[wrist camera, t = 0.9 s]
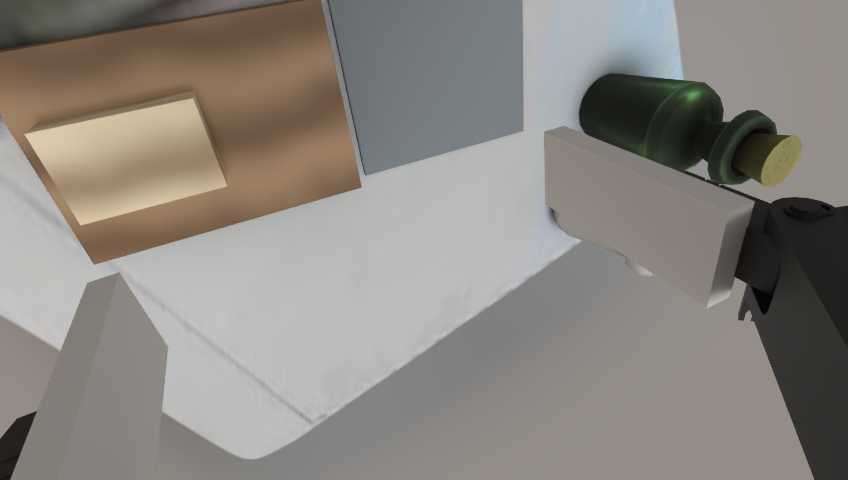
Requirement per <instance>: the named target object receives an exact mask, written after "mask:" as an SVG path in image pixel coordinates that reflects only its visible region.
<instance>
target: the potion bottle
mask: <svg viewBox="0 0 848 480" xmlns="http://www.w3.org/2000/svg"><path fill="white" fill-rule="evenodd" d="M723 111H724V109H723V106H722V102H721V99H720V97H719V96H718V95H717V93H716V92H715V91H714V90H713V89H712V88H711V87H710V86H708V85H707V84H706V83H704V82H693V81H684V80H674V79H664V78H654V77H644V76H634V75H624V74H609V75H607V76H605V77H603V78H600V79H599V80H598V81H597V82H596V83H595V84H594V85H593V86H592V87H591V88H590V89H589V91H588V93H587V95H586V96H585V98H584V100H583V104H582V108H581V112H580V114H581V125H582V127H583V129H584V131H585V133H586V134H587V135H589V136H591V137H593V138H596V139H598V140H601V141H603V142H606V143H608V144H611V145H613V146H616V147H618V148H621V149H623V150H626V151H628V152H631V153H634V154H636V155H639V156H641V157H644V158H646V159H649V160H651V161H654V162H656V163H659V164H661V165H664V166H667V167H669V168H672V169H677V170H682V171H687V170H688V169H690V168H692V167H694V166H695V165H696V164H698V162H700V161H701V160H702V159H704V160H705V161H707V162H708V173H709V176H710V179H711V180H713V181H714V182H716V183H719V184H730V185H733V184H742V183H744V182H745V181H747V180H749V179H751V178H753V179H754V180H756V181H758V182H759V183H761V184H763V185H764V186H766V187H773V186H775V185H777V184H779V183H780V182H782V181H783V180H784V179H785V178H786V177H787V176H788V175H789V174H790V173H791V171H792V170H793V168H794V167H795V165H796V163H797V161H798V159H799V157H800V154H801V149H802V144H801V140H800V139H799V138H798V137H797V136H788V135H777V131H776V125H775V123H774V122H773V121H772V120H771V119H769V118H768V117H767V116H765V115H764V114H762V113H761V112H759V111H758V110H747V111H745V112H743V113H741V114H739V115H738V116H736V117H735V118H734V119H733V120H732V121H730V122H722V120H723Z"/></svg>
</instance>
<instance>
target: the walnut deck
mask: <svg viewBox="0 0 848 480" xmlns="http://www.w3.org/2000/svg"><path fill="white" fill-rule="evenodd" d="M193 90H194V92H195V95H196V97H197V100H198V103H199V105H200V108H201V110H202V113H203V116H204V118H205V121H206V123H207V126H208V128H209V131H210V134H211V136H212V139H213V141H214V144H215V146H216V149H217V152H218V154H219V157H220V159H221V162H222V164H223V167H224V170H225V172H226V177H227V187H223V188H219V189H216V190H212V191H208V192H204V193H201V194H197V195H193V196H189V197H186V198H182V199H178V200H174V201H171V202H167V203H163V204H159V205H156V206H152V207H148V208H144V209H141V210H137V211H133V212H129V213H126V214H122V215H118V216H114V217H111V218H107V219H103V220H99V221H96V222H92V223H88V224H84V225H80V224H79V222H78V221H77V219H76V217H75V216H74V214H73V212H72V211H71V209H70V208H69V206H68V204H67V203H66V201H65V199H64V198H63V196H62V195H61V193H60V191H59V190H58V188H57V186H56V185H55V183H54V182H53V180H52V178H51V177H50V175H49V173H48V172H47V170H46V169H45V167H44V165H43V164H42V162H41V160H40V159H39V157H38V156H37V154H36V152H35V151H34V149H33V147H32V146H31V144H30V143H29V141H28V139H27V138H26V136H25V133H26V132H27V131H28V130H30V129H31V128H32V127H33V126H34V125H35V124H37V123H39V122H44V121H49V120H53V119H58V118H63V117H68V116H73V115H77V114H82V113H87V112H92V111H97V110H101V109H106V108H111V107H116V106H121V105H125V104H130V103H135V102H140V101H145V100H149V99H154V98H159V97H164V96H169V95H173V94H178V93H183V92H188V91H193ZM0 116H1V118H2V119H3V121H4V122H5V124H6V125H7V127H8V129H9V130H10V132H11V133H12V135H13V137H14V138H15V140H16V141H17V143H18V145H19V146H20V148H21V149H22V151H23V152H24V154H25V156H26V157H27V159H28V160H29V162H30V164H31V165H32V167H33V168H34V170H35V172H36V173H37V175H38V176H39V178H40V179H41V181H42V183H43V184H44V186H45V187H46V189H47V191H48V192H49V194H50V195H51V197H52V198H53V200H54V202H55V203H56V205H57V206H58V208H59V210H60V211H61V213H62V214H63V216H64V218H65V219H66V221H67V222H68V224H69V225H70V227H71V229H72V230H73V232H74V233H75V235H76V237H77V238H78V240H79V241H80V243H81V245H82V246H83V248H84V249H85V251H86V252H87V254H88V256H89V257H90V259H91V260H92V262H93V264H94V265H95V264H98V263H101V262H105V261H108V260H112V259H115V258H119V257H122V256H126V255H129V254H133V253H136V252H140V251H143V250H146V249H150V248H153V247H157V246H160V245H164V244H167V243H171V242H174V241H178V240H181V239H185V238H188V237H191V236H195V235H198V234H202V233H205V232H209V231H212V230H216V229H219V228H223V227H226V226H230V225H233V224H236V223H240V222H243V221H247V220H250V219H254V218H257V217H261V216H264V215H268V214H271V213H275V212H278V211H281V210H285V209H288V208H292V207H295V206H299V205H302V204H306V203H309V202H313V201H316V200H320V199H323V198H326V197H330V196H333V195H337V194H340V193H344V192H347V191H351V190H354V189H358V188H361V183H360V178H359V174H358V169H357V165H356V160H355V155H354V151H353V146H352V142H351V137H350V133H349V128H348V123H347V119H346V114H345V110H344V105H343V101H342V96H341V92H340V87H339V82H338V78H337V73H336V69H335V64H334V60H333V55H332V50H331V46H330V41H329V37H328V32H327V28H326V23H325V19H324V14H323V9H322V5H321V0H292V1H286V2H280V3H274V4H268V5H262V6H256V7H250V8H244V9H238V10H232V11H226V12H220V13H214V14H208V15H202V16H196V17H190V18H185V19H179V20H173V21H167V22H161V23H155V24H149V25H143V26H137V27H131V28H125V29H119V30H113V31H107V32H101V33H95V34H89V35H83V36H77V37H71V38H65V39H59V40H53V41H47V42H42V43H36V44H30V45H24V46H18V47H12V48H6V49H0Z"/></svg>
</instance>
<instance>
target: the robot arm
mask: <svg viewBox="0 0 848 480" xmlns="http://www.w3.org/2000/svg"><path fill="white" fill-rule="evenodd" d="M544 151H545V202H546V205H547V206H549V207H550V208H552V209H553V210H555V211H556V212H558V213H560V214H561V215H563V216H564V217H566V218H567V219H569V220H570V221H572V222H574V223H575V224H577V225H578V226H580V227H581V228H583V229H584V230H586V231H587V232H589V233H591V234H592V235H594V236H595V237H597V238H598V239H600V240H601V241H603V242H605V243H606V244H608V245H609V246H611V247H612V248H614V249H615V250H617V251H618V252H620V253H622V254H623V255H625V256H626V257H628V258H629V259H631V260H632V261H634V262H636V263H637V264H639V265H640V266H642V267H643V268H645V269H646V270H648V271H649V272H651V273H653V274H654V275H656V276H657V277H659V278H660V279H662V280H663V281H665V282H667V283H668V284H670V285H671V286H673V287H674V288H676V289H678V290H679V291H680V292H682V293H684V294H685V295H687V296H688V297H690V298H691V299H693V300H694V301H696V302H697V303H699V304H701V305H702V306H704V307H705V308H708V307H710V306H712V305H714V304H716V303H718V302H720V301H722V300H724V299H727V298H728V297H729V296H730V293H731V290H732V286H733V282H734V278H735V277H736V278H738V279H740V280H742V281H744V282H745V283H747V285H746V289H745V292H744V296H743V299H742V303H741V307H740V310H739V314H738V320H744V317H745V314H746V312H748V311H749V310H750V312H751V314H752V318H751V321H754V322H755V325H756V327H757V330H758V333H759V335H760V338H761V341H762V343H763V346H764V348H765V351H766V354H767V356H768V359H769V361H770V364H771V367H772V369H773V372H774V375H775V377H776V380H777V383H778V385H779V388H780V390H781V393H782V395H783V398H784V401H785V403H786V406H787V409H788V411H789V414H790V417H791V419H792V422H793V425H794V427H795V430H796V432H797V435H798V438H799V440H800V443H801V446H802V448H803V451H804V453H805V456H806V458H807V461H808V464H809V467H810V469H811V472H812V474H813V477H814V480H848V206H842V207H836V208H835V207H833V206H832V205H829V204H827V203H824V202H822V201H818V200H814V199H809V198H798V197H791V198H781V199H779V200H775V201H773V202H772V203H771V204H770V203H768V202H765V201H763V200H760V199H757V198H755V197H752V196H749V195H747V194H744V193H742V192H739V191H737V190H734V189H731V188H729V187H726V186H724V185H721V186H719V183H716V182H713V181H711V180H705V178H703V177H701V176H698V175H695V174H693V173H690V172H688V171H682V170H677V169H672V168H669V167H667V166H664V165H661V164H659V163H656V162H654V161H651V160H649V159H646V158H644V157H641V156H639V155H636V154H634V153H631V152H628V151H626V150H623V149H621V148H618V147H616V146H613V145H611V144H608V143H606V142H603V141H601V140H598V139H596V138H593V137H590V136H588V135H585V134H583V133H580V132H578V131H575V130H573V129H570V128H568V127H565V126H561V127H558V128H555V129H552V130H549V131H546V132H544ZM167 353H168V346H167V344H166V343H165V341H164V340H163V338H162V337H161V335H160V334H159V332H158V331H157V329H156V328H155V326H154V325H153V323H152V321H151V320H150V318H149V317H148V315H147V314H146V312H145V311H144V309H143V308H142V306H141V305H140V303H139V302H138V300H137V299H136V297H135V296H134V294H133V293H132V291H131V289H130V288H129V286H128V285H127V283H126V282H125V280H124V279H123V277H122V276H121V274H120V273H116V274H113V275H110V276H107V277H104V278H101V279H98V280H95V281H92V282H89V283H87V285H86V288H85V290H84V293H83V295H82V298H81V300H80V303H79V306H78V308H77V311H76V313H75V316H74V318H73V321H72V323H71V326H70V329H69V331H68V334H67V336H66V339H65V341H64V344H63V346H62V349H61V352H60V354H59V357H58V359H57V362H56V364H55V367H54V369H53V372H52V375H51V377H50V380H49V382H48V385H47V387H46V390H45V392H44V395H43V398H42V400H41V403H40V406H39V408H38V411H36V412H33V413H31V414H28V415H25V416H23V417H20V418H18V419H16V421H15V422H14V423H13V424H12V425H11V427H10V428H9V429H8V430H7V431H6V433H5V434H4V435H3V436H2V437H1V439H0V480H155V472H156V463H157V453H158V442H159V433H160V422H161V413H162V403H163V393H164V383H165V373H166V363H167Z"/></svg>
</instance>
